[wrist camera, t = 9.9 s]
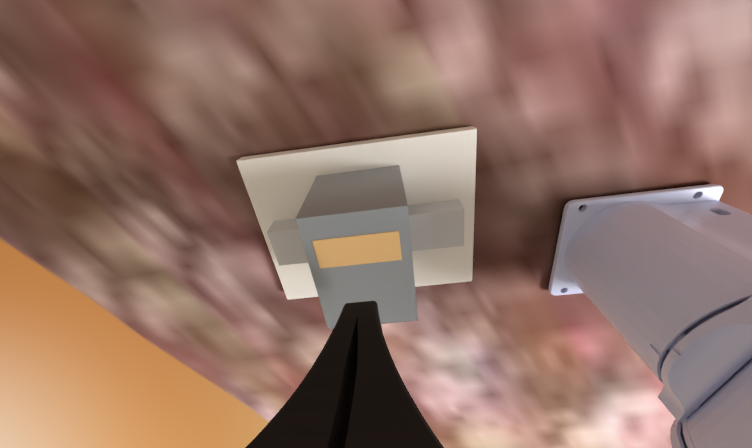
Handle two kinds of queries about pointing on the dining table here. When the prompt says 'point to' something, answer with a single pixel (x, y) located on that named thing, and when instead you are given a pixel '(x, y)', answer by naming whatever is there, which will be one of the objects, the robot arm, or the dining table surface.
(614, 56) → the dining table surface
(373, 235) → the module
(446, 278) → the rail board
